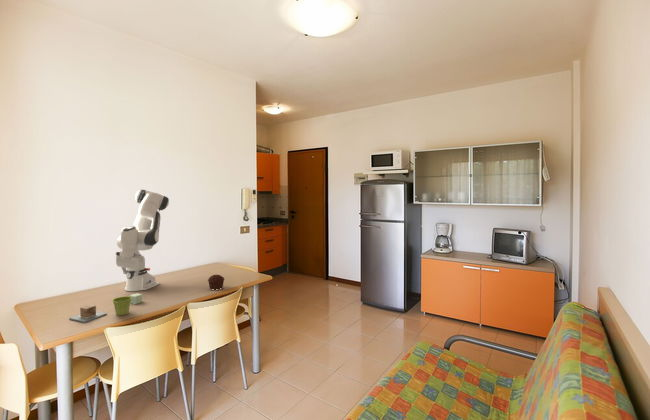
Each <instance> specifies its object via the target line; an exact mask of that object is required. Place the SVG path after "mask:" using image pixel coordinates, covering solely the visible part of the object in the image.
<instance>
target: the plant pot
mask: <svg viewBox="0 0 650 420" xmlns="http://www.w3.org/2000/svg"><path fill="white" fill-rule="evenodd" d="M129 296H130V295H129ZM129 296H128V295H127V296H118V297H115V298H113V299H112V303H113V305H114V310H115V315H116V316H121V317H122V316H125V315H128V314H129V312H130V305H131V303H130V301H131V299H132V297H129Z"/></svg>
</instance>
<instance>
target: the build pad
mask: <svg viewBox="0 0 650 420" xmlns="http://www.w3.org/2000/svg"><path fill="white" fill-rule="evenodd" d="M107 314H108V313H107V312H102V311H99V310H96V315H93V316H90V317H87V318H86V317H81V316H80V313H79V314H77V315H74V316H71V317H70V316H69V320H71V321H74V322H79V323H82V324H86V323H88V321H89V322H91V321H93V320H97V319H100V318H102V317H105V316H108V315H107ZM96 318H97V319H96Z"/></svg>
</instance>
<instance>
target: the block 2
mask: <svg viewBox="0 0 650 420" xmlns="http://www.w3.org/2000/svg"><path fill="white" fill-rule="evenodd" d="M129 297H132V299H131V301H130V305H137V303H138V304H140V303H142V302H143V293H137V292H136V293H133V294H130V295H129Z"/></svg>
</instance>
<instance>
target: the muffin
mask: <svg viewBox="0 0 650 420" xmlns="http://www.w3.org/2000/svg"><path fill="white" fill-rule="evenodd" d="M224 281H225V278H224V277H223V276H222V275H221V274H212V275H210V277H208V279H207V282H208V285H209V286H208V287H209V290H210V289H214V290H216V289H220V288H222V287H224ZM222 289H223V288H222ZM214 290H213V291H214ZM216 291H217V290H216Z"/></svg>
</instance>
